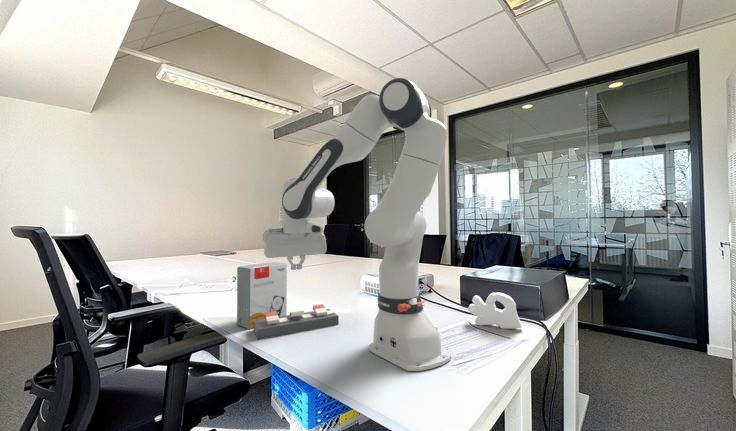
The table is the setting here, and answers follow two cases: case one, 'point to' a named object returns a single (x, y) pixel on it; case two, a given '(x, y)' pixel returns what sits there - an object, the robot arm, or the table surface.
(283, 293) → the hard drive box
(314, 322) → the power strip
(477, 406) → the table surface
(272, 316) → the rocker
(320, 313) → the rocker
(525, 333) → the table surface
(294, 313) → the rocker
